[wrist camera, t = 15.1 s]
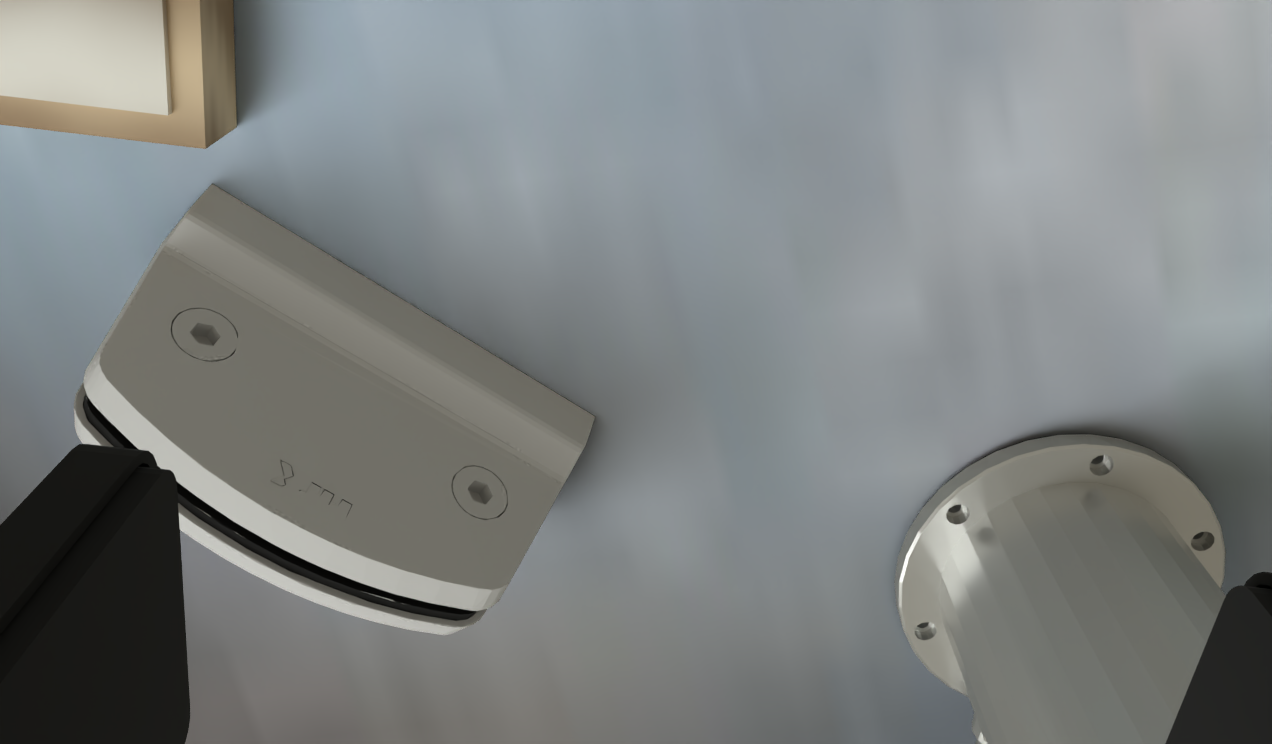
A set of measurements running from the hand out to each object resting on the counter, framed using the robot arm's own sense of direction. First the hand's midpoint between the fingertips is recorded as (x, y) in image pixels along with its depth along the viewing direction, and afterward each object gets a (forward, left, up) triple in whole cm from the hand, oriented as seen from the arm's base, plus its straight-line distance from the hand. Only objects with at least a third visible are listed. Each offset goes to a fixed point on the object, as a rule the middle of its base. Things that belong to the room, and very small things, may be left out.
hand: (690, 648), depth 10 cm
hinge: (-13, +10, -31) cm, 35 cm away
